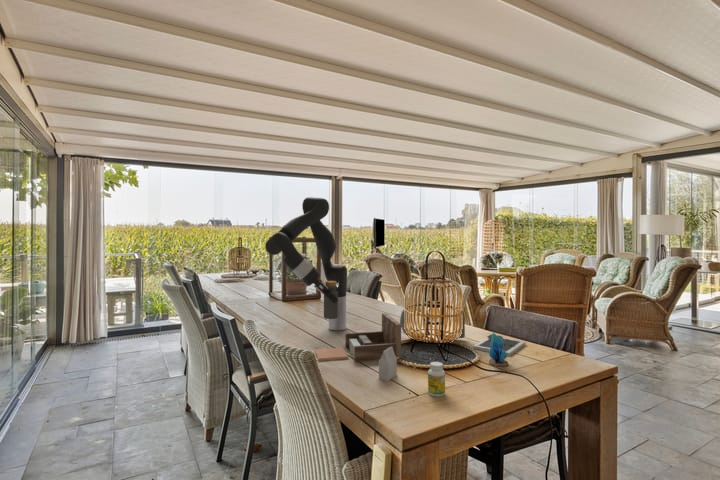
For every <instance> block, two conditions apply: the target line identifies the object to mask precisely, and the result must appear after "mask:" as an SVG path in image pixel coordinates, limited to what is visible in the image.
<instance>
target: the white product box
mask: <svg viewBox="0 0 720 480" xmlns="http://www.w3.org/2000/svg"><path fill="white" fill-rule="evenodd" d="M397 360H398V359H397V358H396V356H395V353H394V351H393V347H390V348H388V349H386V350H385V351H383V354H382V357H381V359H380V360H378V379H379V380H383V381H386V382H389V381H390V380H392V379H393V378H394V377H395V376H397V375H398V374H397V372H398V371H397V367H398V366H397V363H398V362H397Z"/></svg>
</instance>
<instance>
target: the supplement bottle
mask: <svg viewBox="0 0 720 480" xmlns="http://www.w3.org/2000/svg"><path fill="white" fill-rule="evenodd" d="M443 366H444V363H442V362H440V361H432V362H430V363H429V369H428V371H427V393H428V394H429V395H430V396H433V397H442V396H445V395H446V371H445V370H444V367H443Z"/></svg>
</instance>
